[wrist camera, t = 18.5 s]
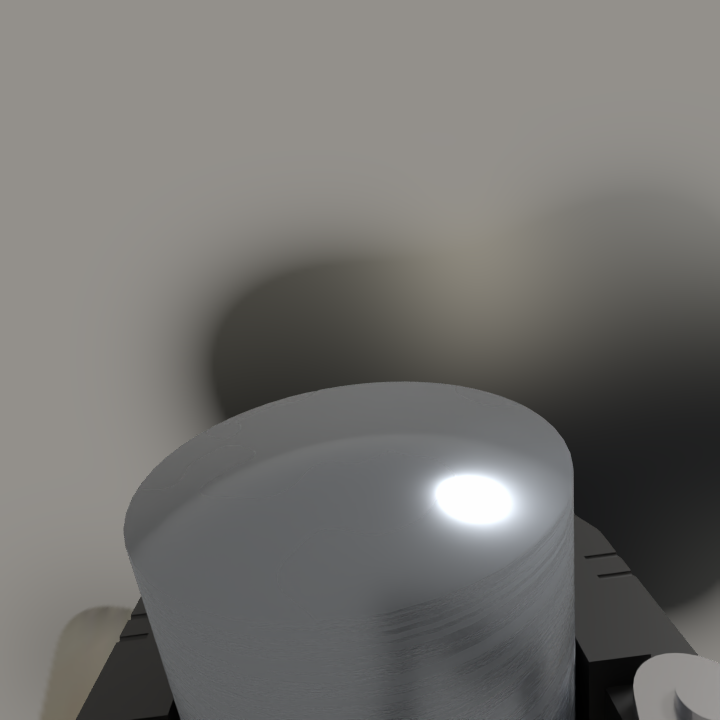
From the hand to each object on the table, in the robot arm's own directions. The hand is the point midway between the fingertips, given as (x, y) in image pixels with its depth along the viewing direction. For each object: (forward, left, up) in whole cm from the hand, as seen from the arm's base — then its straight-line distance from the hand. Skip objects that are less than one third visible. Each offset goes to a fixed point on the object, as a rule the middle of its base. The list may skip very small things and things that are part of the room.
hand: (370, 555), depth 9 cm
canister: (0, +3, -7) cm, 7 cm away
